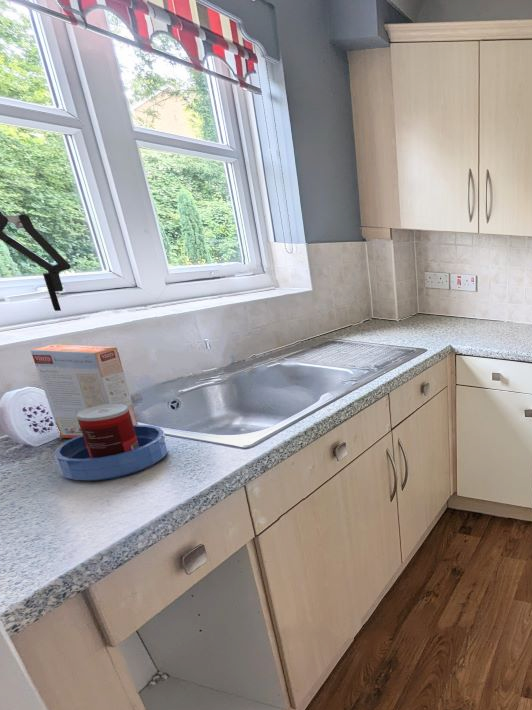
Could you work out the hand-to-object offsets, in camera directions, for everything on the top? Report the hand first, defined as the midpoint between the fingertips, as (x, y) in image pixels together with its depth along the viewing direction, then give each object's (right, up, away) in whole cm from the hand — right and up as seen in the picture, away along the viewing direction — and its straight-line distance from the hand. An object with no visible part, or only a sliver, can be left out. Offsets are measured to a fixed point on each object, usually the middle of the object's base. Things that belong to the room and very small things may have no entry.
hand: (2, 313), depth 79 cm
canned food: (+6, -28, +15) cm, 32 cm away
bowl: (+6, -28, +15) cm, 33 cm away
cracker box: (-8, -24, +27) cm, 36 cm away
